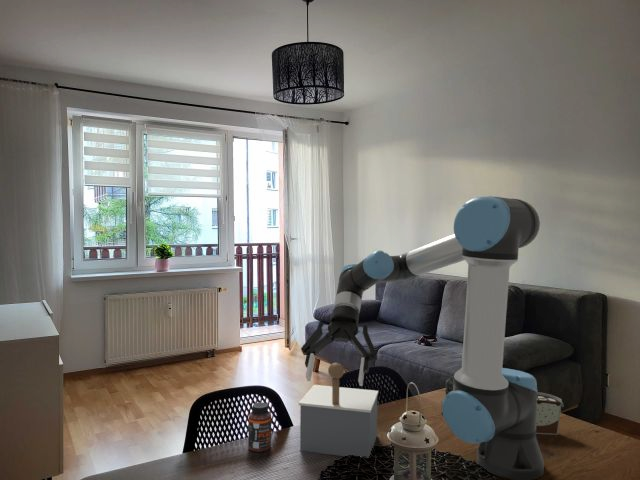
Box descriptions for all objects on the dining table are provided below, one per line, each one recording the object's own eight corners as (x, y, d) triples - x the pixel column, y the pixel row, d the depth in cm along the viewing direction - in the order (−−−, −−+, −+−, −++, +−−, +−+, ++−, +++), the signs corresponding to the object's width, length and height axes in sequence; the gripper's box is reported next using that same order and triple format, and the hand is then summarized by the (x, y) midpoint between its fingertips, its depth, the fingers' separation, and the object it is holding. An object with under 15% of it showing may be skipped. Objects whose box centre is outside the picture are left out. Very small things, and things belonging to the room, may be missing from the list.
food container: (554, 425, 137) (554, 392, 137) (563, 435, 131) (563, 399, 131) (511, 423, 138) (511, 390, 138) (517, 432, 132) (518, 397, 132)
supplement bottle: (259, 455, 118) (259, 411, 118) (243, 448, 121) (243, 405, 121) (275, 446, 123) (276, 404, 122) (259, 440, 126) (259, 399, 126)
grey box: (376, 435, 129) (377, 393, 129) (369, 459, 116) (369, 411, 116) (314, 428, 134) (314, 387, 134) (300, 450, 120) (300, 404, 120)
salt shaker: (436, 412, 146) (437, 374, 146) (451, 409, 149) (451, 372, 149) (449, 419, 141) (449, 380, 141) (464, 416, 144) (464, 377, 143)
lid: (378, 392, 129) (378, 353, 129) (370, 412, 115) (370, 368, 115) (313, 386, 134) (314, 348, 134) (298, 405, 120) (298, 362, 120)
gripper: (391, 321, 131) (384, 392, 117) (306, 317, 138) (290, 383, 123) (389, 306, 126) (381, 378, 112) (301, 301, 132) (283, 369, 118)
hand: (333, 381), depth 117 cm, fingers open, 13 cm apart
